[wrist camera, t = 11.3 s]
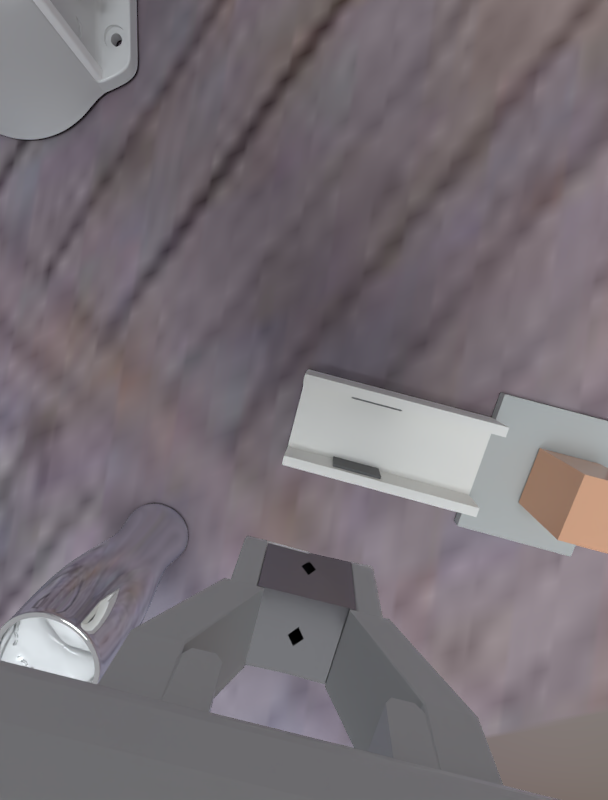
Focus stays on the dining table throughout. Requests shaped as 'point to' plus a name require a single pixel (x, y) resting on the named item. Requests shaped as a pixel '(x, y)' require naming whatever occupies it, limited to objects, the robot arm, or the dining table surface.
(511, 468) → the pad
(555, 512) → the block
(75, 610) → the beer glass
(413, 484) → the chute
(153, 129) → the dining table surface
